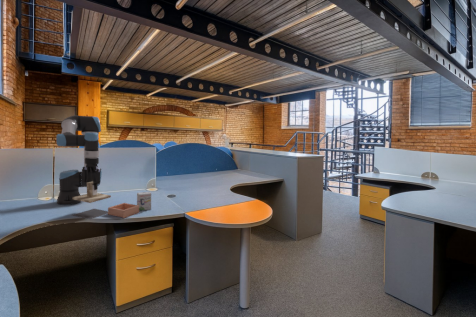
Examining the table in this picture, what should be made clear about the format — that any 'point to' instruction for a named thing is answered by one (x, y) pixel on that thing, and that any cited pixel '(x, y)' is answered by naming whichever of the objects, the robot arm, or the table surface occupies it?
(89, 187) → the light wood slatted piece
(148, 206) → the ink box
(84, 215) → the mat
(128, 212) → the reddish brown open box
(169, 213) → the table surface
